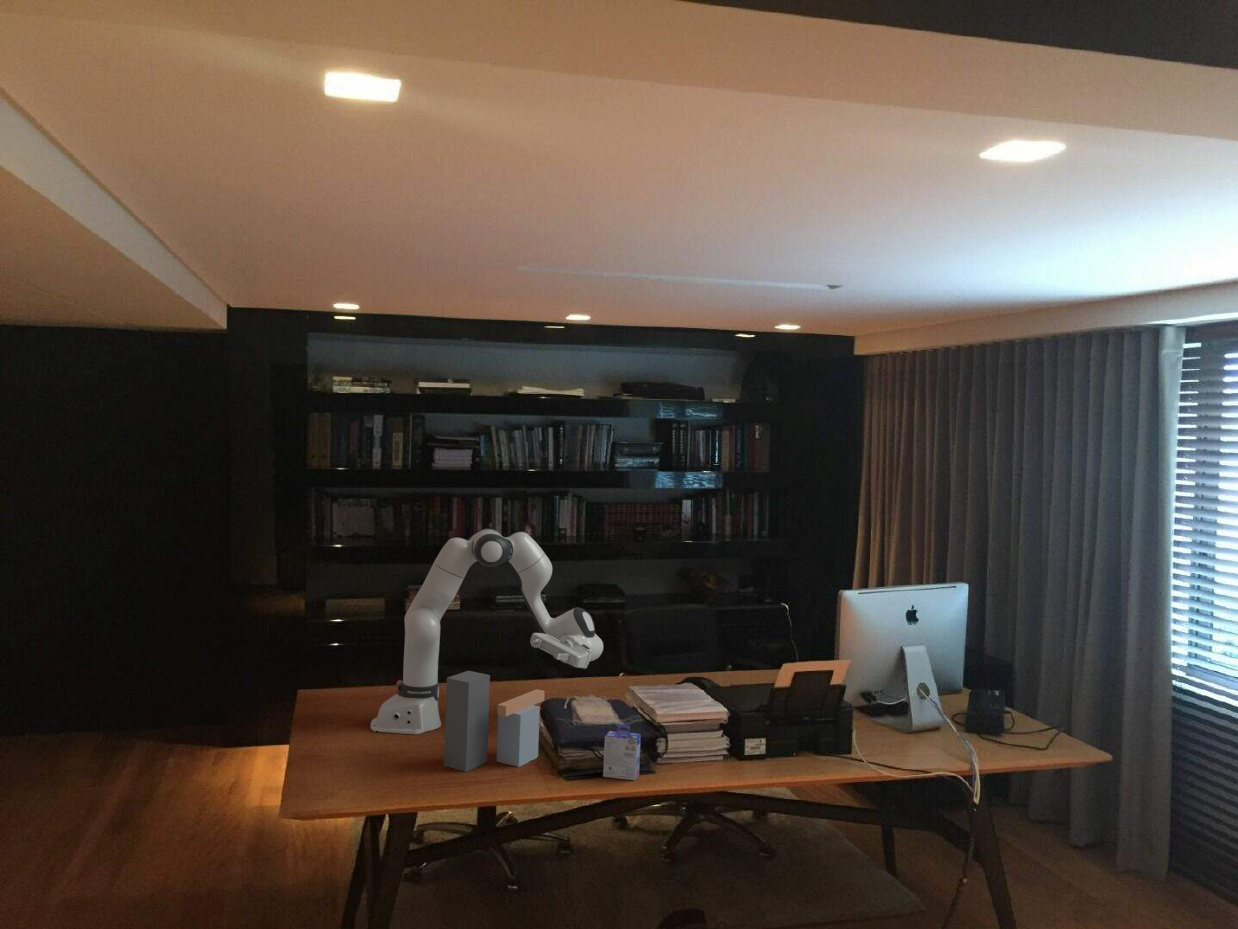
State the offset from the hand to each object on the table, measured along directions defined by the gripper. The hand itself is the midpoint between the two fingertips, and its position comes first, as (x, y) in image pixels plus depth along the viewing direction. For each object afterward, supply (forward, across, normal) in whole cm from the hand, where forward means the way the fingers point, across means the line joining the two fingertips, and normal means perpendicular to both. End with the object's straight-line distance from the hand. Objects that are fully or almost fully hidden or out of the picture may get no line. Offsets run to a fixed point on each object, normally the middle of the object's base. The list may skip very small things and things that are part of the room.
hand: (544, 650), depth 311 cm
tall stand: (+25, +3, +34) cm, 42 cm away
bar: (+14, +8, +15) cm, 22 cm away
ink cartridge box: (+5, +42, +21) cm, 47 cm away
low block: (+13, +12, +30) cm, 34 cm away
